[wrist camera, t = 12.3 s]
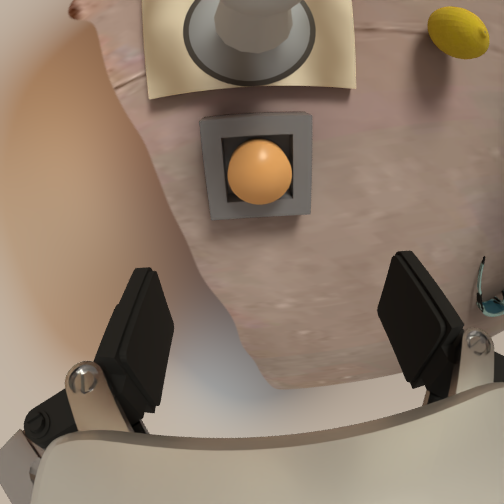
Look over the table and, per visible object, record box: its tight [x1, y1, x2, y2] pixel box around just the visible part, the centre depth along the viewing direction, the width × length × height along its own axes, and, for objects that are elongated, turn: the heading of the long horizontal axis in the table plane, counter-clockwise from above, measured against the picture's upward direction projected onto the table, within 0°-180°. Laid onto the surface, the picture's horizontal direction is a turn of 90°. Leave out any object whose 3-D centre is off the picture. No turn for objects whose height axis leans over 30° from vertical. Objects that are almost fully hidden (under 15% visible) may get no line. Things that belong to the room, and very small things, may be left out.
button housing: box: [199, 112, 312, 220], centre depth 24 cm, size 9×9×3 cm
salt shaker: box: [214, 0, 302, 53], centre depth 12 cm, size 6×6×13 cm
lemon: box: [428, 7, 489, 59], centre depth 14 cm, size 6×6×8 cm
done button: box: [228, 138, 292, 205], centre depth 23 cm, size 5×5×2 cm
